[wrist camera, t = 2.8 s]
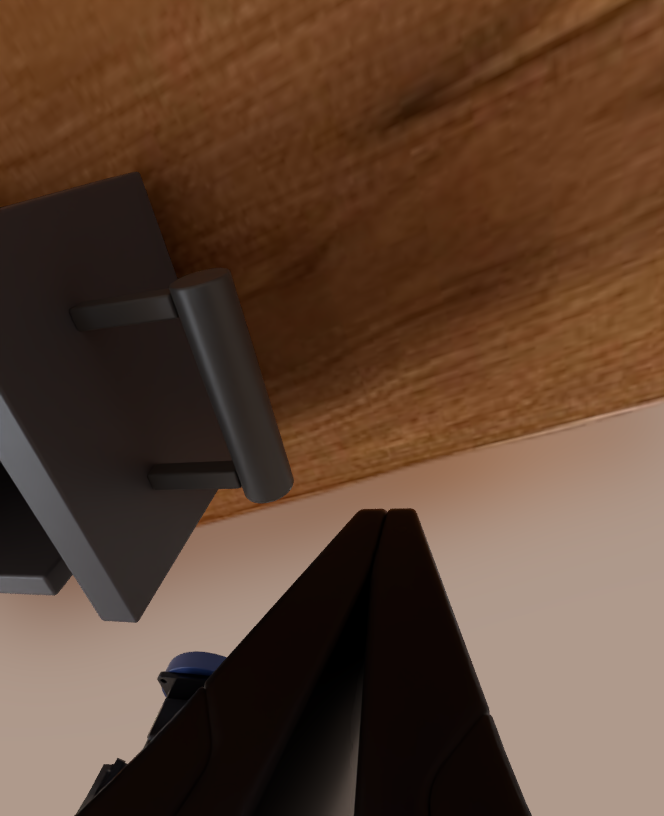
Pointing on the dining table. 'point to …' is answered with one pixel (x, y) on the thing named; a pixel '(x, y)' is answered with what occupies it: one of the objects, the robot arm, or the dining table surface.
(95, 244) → the drawer
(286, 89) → the dining table surface
